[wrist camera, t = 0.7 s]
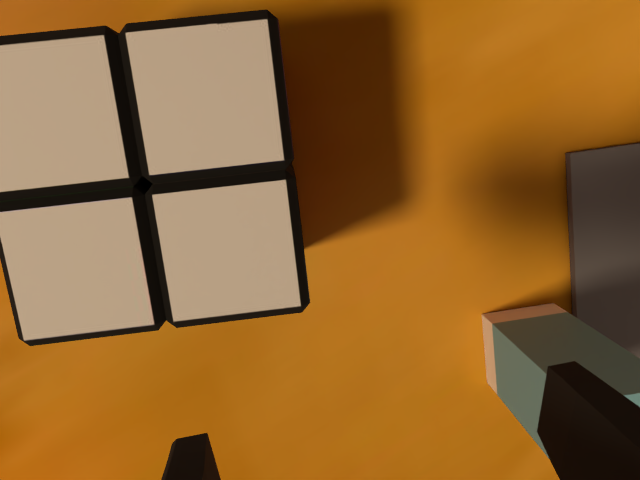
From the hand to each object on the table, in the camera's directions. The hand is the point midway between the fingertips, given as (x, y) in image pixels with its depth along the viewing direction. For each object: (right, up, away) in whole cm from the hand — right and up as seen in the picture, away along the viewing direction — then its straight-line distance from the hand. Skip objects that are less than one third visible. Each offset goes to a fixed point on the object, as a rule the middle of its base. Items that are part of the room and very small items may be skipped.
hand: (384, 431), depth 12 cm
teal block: (+10, -2, +19) cm, 21 cm away
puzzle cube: (-8, +8, +16) cm, 20 cm away
